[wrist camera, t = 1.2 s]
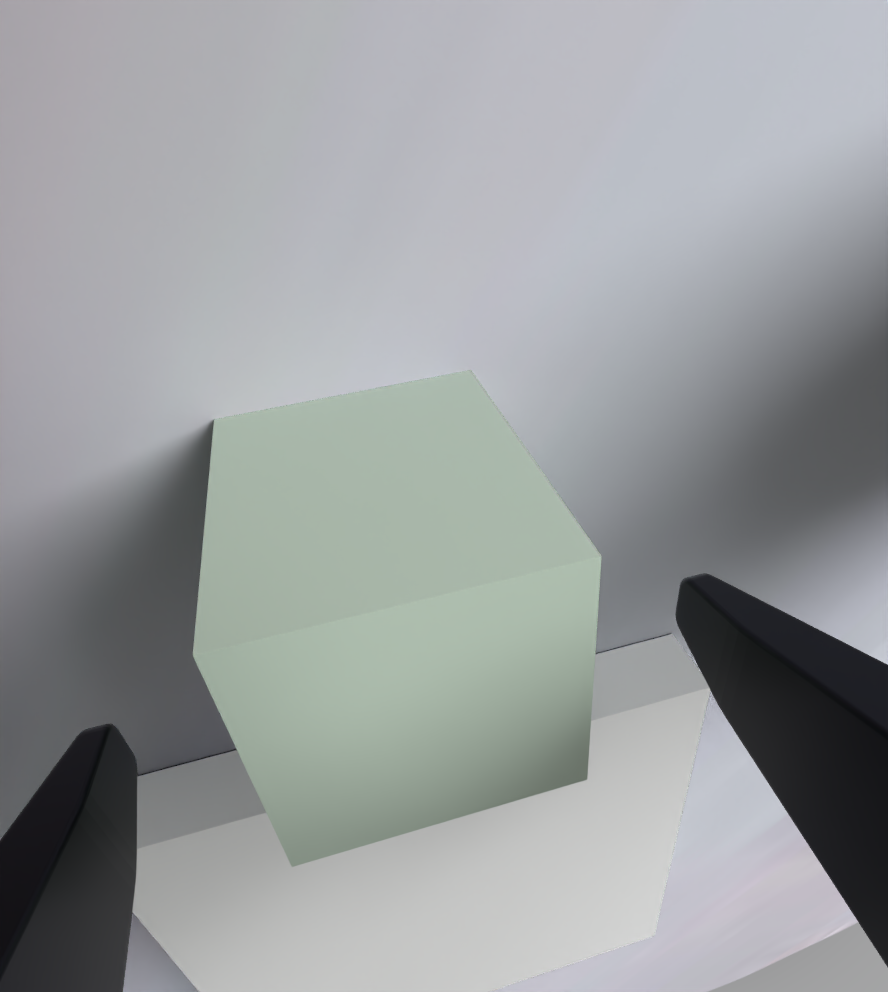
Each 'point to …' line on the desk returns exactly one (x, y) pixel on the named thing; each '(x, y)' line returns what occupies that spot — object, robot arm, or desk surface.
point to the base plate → (432, 863)
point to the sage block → (393, 613)
